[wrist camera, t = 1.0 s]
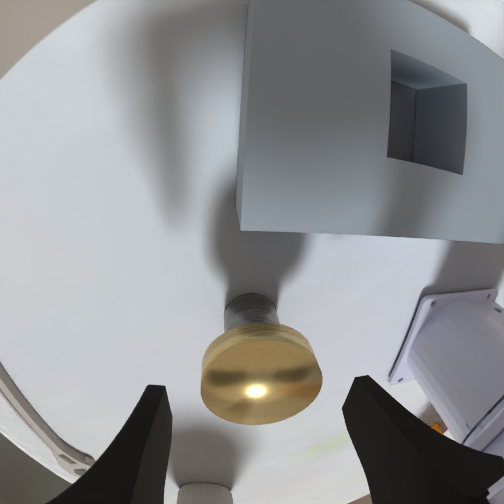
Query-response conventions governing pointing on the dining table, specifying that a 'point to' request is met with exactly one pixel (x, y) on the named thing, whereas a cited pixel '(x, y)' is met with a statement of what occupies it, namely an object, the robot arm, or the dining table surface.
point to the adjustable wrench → (43, 428)
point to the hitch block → (368, 123)
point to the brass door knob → (258, 366)
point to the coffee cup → (204, 494)
